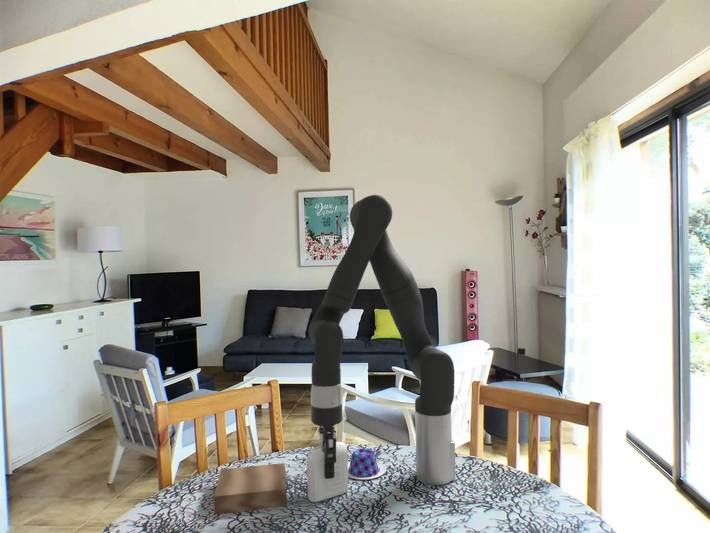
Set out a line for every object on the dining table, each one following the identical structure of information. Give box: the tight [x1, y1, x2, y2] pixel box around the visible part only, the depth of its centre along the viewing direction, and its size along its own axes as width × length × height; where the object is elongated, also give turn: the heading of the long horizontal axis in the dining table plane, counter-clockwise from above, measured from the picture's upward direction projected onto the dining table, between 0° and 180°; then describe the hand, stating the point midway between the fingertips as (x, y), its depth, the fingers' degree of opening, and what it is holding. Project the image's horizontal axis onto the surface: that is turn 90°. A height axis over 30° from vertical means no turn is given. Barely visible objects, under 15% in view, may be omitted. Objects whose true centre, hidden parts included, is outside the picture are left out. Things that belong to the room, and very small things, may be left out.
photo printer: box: [306, 441, 349, 503], centre depth 107 cm, size 10×4×12 cm, turn 123°
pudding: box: [348, 448, 387, 480], centre depth 120 cm, size 12×12×5 cm
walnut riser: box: [213, 462, 288, 515], centre depth 108 cm, size 16×14×4 cm
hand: (327, 471), depth 107 cm, fingers closed on photo printer, 5 cm apart
